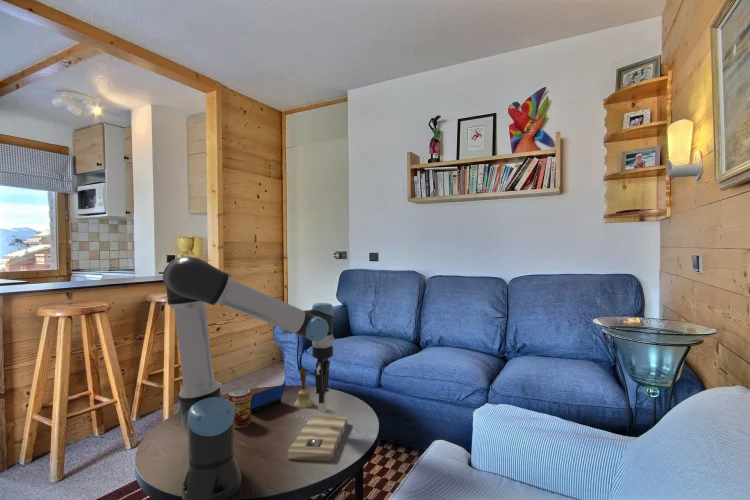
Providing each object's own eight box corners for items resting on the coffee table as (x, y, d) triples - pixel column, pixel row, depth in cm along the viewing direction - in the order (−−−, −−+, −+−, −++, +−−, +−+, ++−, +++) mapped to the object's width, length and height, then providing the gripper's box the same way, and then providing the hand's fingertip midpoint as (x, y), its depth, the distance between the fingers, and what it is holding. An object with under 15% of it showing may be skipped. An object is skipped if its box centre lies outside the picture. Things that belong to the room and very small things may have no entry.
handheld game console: (270, 397, 174) (269, 377, 174) (287, 405, 165) (286, 383, 165) (237, 408, 163) (237, 386, 163) (253, 417, 154) (253, 394, 154)
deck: (330, 461, 120) (330, 453, 120) (287, 459, 121) (287, 451, 121) (347, 424, 145) (347, 417, 145) (311, 422, 147) (311, 416, 147)
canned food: (235, 429, 142) (235, 397, 142) (225, 423, 147) (224, 392, 147) (254, 422, 148) (254, 391, 148) (243, 417, 153) (243, 386, 153)
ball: (321, 442, 129) (320, 452, 127) (312, 442, 130) (310, 451, 127) (320, 437, 128) (318, 446, 125) (311, 436, 128) (308, 446, 125)
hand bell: (314, 406, 162) (313, 369, 162) (294, 409, 160) (293, 371, 160) (312, 399, 170) (311, 363, 170) (293, 401, 168) (292, 365, 168)
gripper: (328, 350, 133) (327, 418, 133) (336, 342, 146) (336, 404, 146) (307, 349, 134) (306, 417, 134) (317, 341, 147) (317, 403, 147)
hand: (322, 410), depth 140 cm, fingers closed
